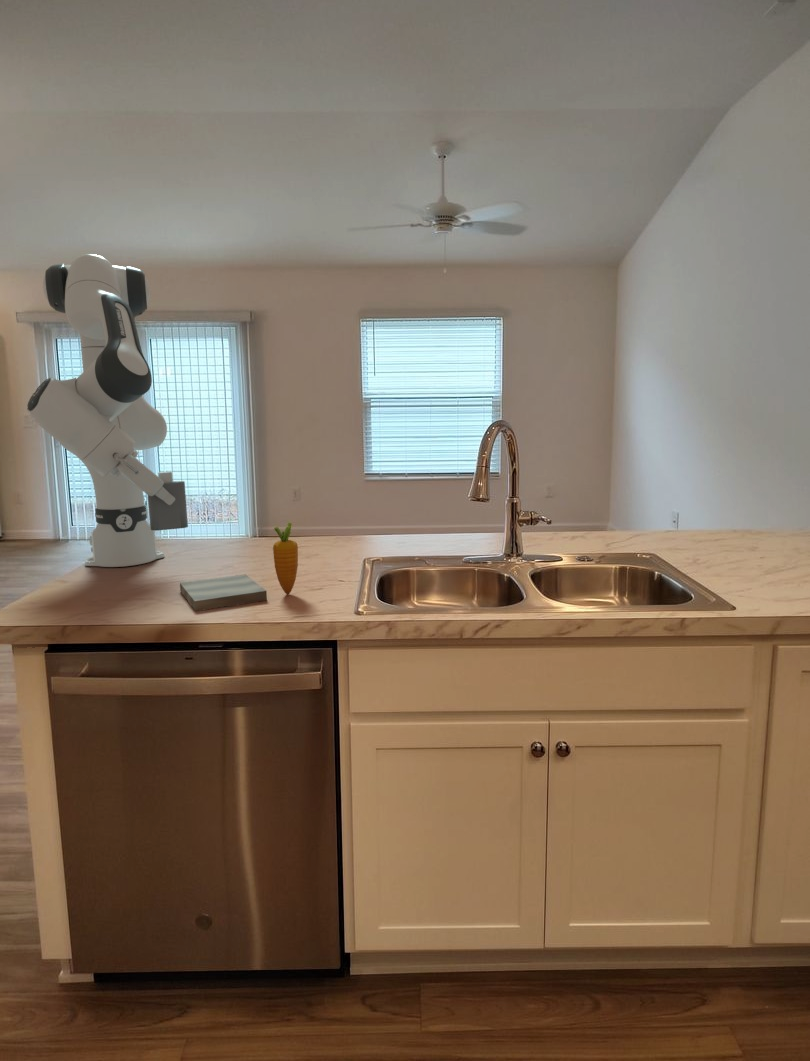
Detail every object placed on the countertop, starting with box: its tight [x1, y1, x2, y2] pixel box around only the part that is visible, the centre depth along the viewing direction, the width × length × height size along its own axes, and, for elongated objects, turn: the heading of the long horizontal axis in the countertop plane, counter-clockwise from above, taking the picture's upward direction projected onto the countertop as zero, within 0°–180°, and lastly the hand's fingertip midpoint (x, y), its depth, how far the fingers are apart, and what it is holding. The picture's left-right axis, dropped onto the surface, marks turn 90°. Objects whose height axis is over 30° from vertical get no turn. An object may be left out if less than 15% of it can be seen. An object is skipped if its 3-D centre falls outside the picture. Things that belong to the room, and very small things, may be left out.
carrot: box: [272, 521, 299, 596], centre depth 137 cm, size 5×5×15 cm
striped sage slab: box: [179, 573, 268, 612], centre depth 138 cm, size 16×14×2 cm
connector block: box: [147, 471, 189, 532], centre depth 131 cm, size 7×3×11 cm, turn 117°
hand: (170, 500), depth 131 cm, fingers closed on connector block, 3 cm apart
